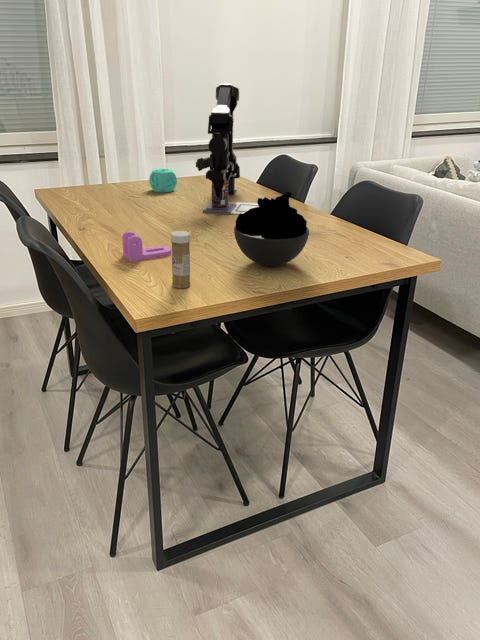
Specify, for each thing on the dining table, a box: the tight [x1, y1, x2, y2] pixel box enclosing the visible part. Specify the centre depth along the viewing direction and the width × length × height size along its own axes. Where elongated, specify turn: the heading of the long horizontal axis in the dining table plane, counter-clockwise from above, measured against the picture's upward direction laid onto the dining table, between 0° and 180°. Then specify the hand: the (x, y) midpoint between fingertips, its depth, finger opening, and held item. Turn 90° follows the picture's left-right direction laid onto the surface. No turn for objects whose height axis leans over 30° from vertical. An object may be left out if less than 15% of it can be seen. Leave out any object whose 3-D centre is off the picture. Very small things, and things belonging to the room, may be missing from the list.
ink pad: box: [202, 201, 237, 215], centre depth 210 cm, size 11×10×1 cm
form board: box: [230, 201, 259, 216], centre depth 211 cm, size 16×14×1 cm
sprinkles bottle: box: [170, 230, 191, 289], centre depth 140 cm, size 5×5×13 cm
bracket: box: [121, 230, 172, 262], centre depth 162 cm, size 13×6×7 cm, turn 119°
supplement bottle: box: [211, 176, 229, 207], centre depth 207 cm, size 6×6×11 cm
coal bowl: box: [233, 191, 310, 267], centre depth 155 cm, size 20×20×19 cm
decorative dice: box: [148, 168, 178, 193], centre depth 235 cm, size 8×8×8 cm
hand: (220, 194), depth 208 cm, fingers closed on supplement bottle, 6 cm apart
